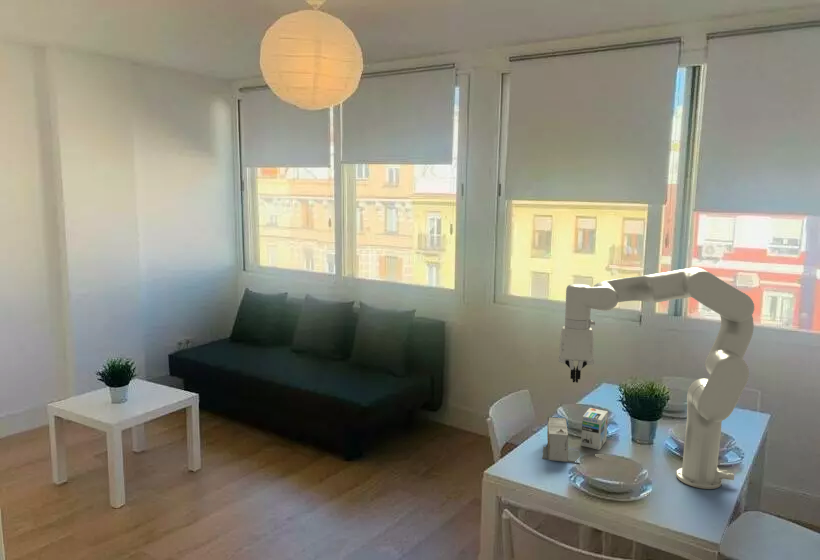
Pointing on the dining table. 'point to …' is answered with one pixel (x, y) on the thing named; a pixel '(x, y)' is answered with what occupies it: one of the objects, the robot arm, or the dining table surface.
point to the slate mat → (572, 455)
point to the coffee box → (557, 439)
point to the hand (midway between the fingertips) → (575, 381)
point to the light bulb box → (594, 428)
